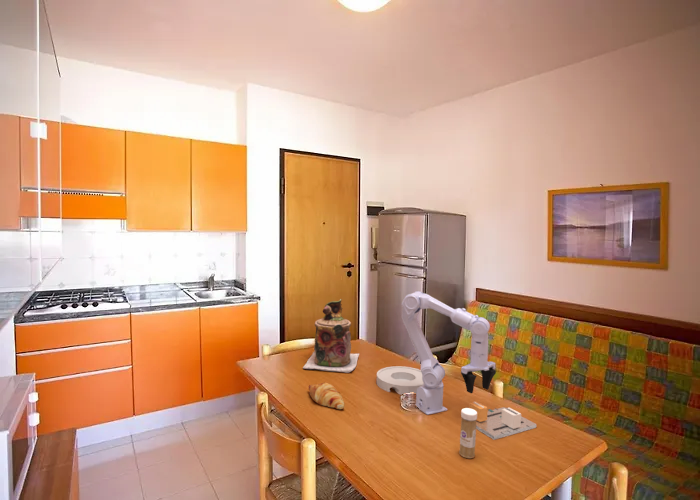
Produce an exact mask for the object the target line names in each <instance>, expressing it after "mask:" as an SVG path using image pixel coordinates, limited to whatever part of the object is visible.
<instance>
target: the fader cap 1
mask: <svg viewBox="0 0 700 500" xmlns="http://www.w3.org/2000/svg"><path fill="white" fill-rule="evenodd" d="M469 408H471V409H474V410H475V411H476V412H477V421H479V422H482V421H486V420H487V413H488V411H489V408H488V406H486V405H484V404H483V403H481V402H479V401H473V402H469Z"/></svg>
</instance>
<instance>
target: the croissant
mask: <svg viewBox="0 0 700 500" xmlns="http://www.w3.org/2000/svg"><path fill="white" fill-rule="evenodd" d="M308 390H309V396H310V397H311V399H312V400H313V401H314V402H315V403H317V404H318V405H320V406H324V407H327V408H335V409H336V410H342V409H344V408H345V402H344V399H343V396H342V394H341V392H339V391H338V390H337V388H336V387H335V386H334V385H333V384H331V383H328V382H325V381H324V382H322V383H318V384H309V385H308Z"/></svg>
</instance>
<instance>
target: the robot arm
mask: <svg viewBox="0 0 700 500" xmlns="http://www.w3.org/2000/svg"><path fill="white" fill-rule="evenodd" d="M401 307H402V308H401V320H402V324H403V325H404V327H405V330H406V332H407V335H408V337H409V339H410V341H411V344H412V345H413V348H414V351H415V353H416V354H417V357H418V359H419V362H420V370H421V372H422V380H423V382H424V384H423V385H422V386H421V387H418V389H417V393H416V395H415V396H416V397H415V405H416V406H417V407H418V408H419V410H420V411H421V412H423V413H424V414H425V415H432V414H438V413H441V412H446V411H448V408H447V407H445V406H444V405H443V403H444V402H443V401H444V399H443V398H444V383H443V379H444V378H445V376H446V370H445V368H444V367H443V366H442V364H440V362H439V360H438V359H437V358H436V357H435V356H434V354H433V353H432V350H431V348H430V345H429V344H428V342H427V339H426V337H425V334H424V332H423V330H422V328H421V326H420V323H419V321H418V319H417V318H418V315H419V313H420V311H421V310H425V309H426V310H427V309H431V310H433V311H436V312H438V313H440V314H441V315H443V316H446V317H449V318H450V320H451V322H452V323H453V324H455V325H457V326H460V327H461V328H464V329H466V330H467V331H470V333H471V339H470V341H471V343H470V344H471V345H470V346H471V347H470V363H468V364H466V365H464V366H461V368H460V369H461V371H460V374H461V376H462V378H463V381H464V384H465V387H466V392H467V393H469V394H473V393H474V386H475V385H474V384H475V380H476V379H477V375H476V374H474V372H478V371H480V372H481V379H482V380H481V381H482V382H481V384H482V389H484V390H487V391H488V390H489V389H490V385H491V382H492V380H493V378H494V377H495V375H496V373H497V370H496V362H494V361H488V359H489V358H488V357H489V331H490V329H491V324H490V322H489V321H488V320H487V319H486V318H485V317H483V316H482V317H481V316H480V317H479V315H478V314H473V313H471V312H468V311H467V309H466V308H464V307H462V308H460V307H458V308H453V307H451V306H449V305H447V304H445V303H444V302H442V301H440V300H439V299H437V298H435V297H433V296H431V295H430V294H428V293H424V292H422V291H420V290H419V291H418V290H416V291H414V292H412V293H408V294H406V295H405V296H404V298H403V299H402V302H401ZM417 407H416V408H417ZM418 408H417V409H418Z"/></svg>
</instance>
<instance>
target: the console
mask: <svg viewBox="0 0 700 500" xmlns="http://www.w3.org/2000/svg"><path fill="white" fill-rule="evenodd" d="M505 408H506V407H505V406H503V407H499V408H496V407H494V409H491V408H488V413H487V420H486V421H482V422H479V421H477V420H476V431H477V430H478V431H479V432H480V433H482V434H484V435H485V436H487V437H489V438H490V439H492V440H493V441H494V440H498V439H501V438H505V437H509V436H512V435H515V434H520V433H522V432H523V433H524V432H525V431H530V430H532V429H536V428H537V423H535V422H534V421H531V420H529V419H528V418H526V417H523V416H522V415H521V427H518V428H515V429H512V428H511V427H509V426H507V425H505V424H504V423H502V422H501V418H502V409H505Z"/></svg>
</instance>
